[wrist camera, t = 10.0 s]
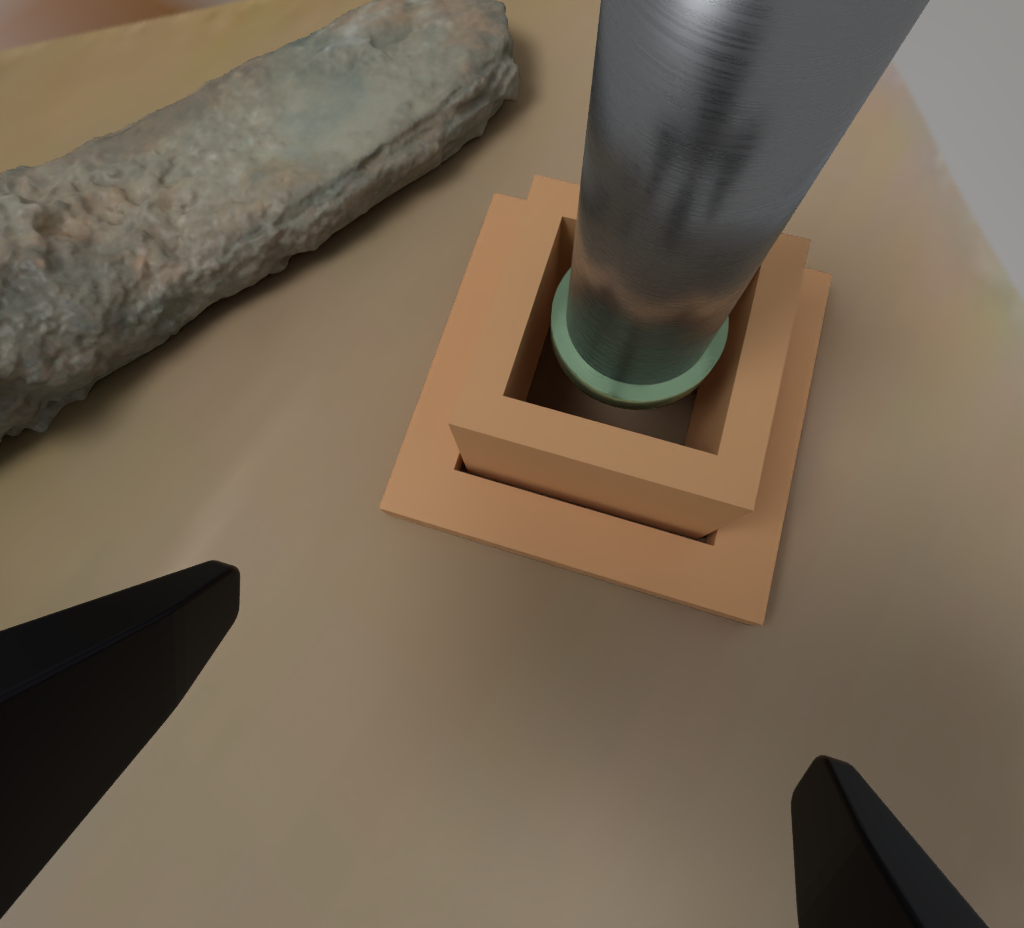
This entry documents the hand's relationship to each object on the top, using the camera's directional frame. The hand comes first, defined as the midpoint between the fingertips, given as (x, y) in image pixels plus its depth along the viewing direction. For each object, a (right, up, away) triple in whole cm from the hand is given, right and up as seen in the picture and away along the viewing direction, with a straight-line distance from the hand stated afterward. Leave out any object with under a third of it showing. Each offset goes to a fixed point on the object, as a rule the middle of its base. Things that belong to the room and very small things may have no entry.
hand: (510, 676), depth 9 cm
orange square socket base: (+4, +6, +13) cm, 15 cm away
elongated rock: (-14, +11, +16) cm, 24 cm away
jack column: (+4, +7, +9) cm, 12 cm away
